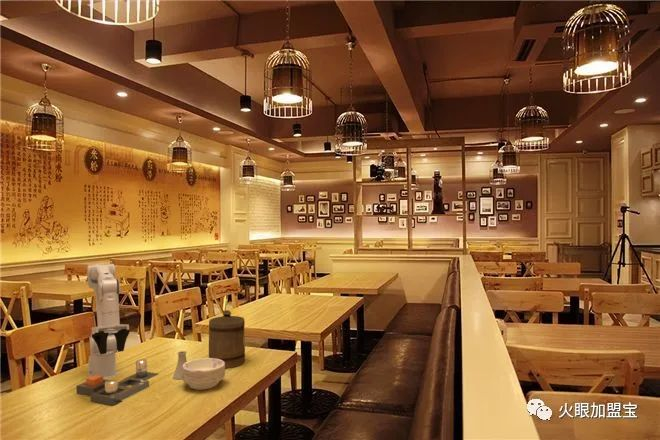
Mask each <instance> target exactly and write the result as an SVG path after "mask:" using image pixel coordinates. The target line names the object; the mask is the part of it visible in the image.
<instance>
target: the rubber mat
mask: <svg viewBox="0 0 660 440" xmlns="http://www.w3.org/2000/svg"><path fill="white" fill-rule="evenodd" d="M158 375H159V373H156V372H149V371H147V377H144V378H136V373H134V374H132V375H130V376H127V377H125V378H123V379H126V378H133V379H139V380H146V381H149V380H150V379H151V378H152V379H153V378H154V377H156V376H158Z"/></svg>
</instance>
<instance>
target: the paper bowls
mask: <svg viewBox="0 0 660 440" xmlns="http://www.w3.org/2000/svg"><path fill="white" fill-rule="evenodd" d="M225 374H226V368H225V362H224V361H222V360H220V359H216V358H209V357H203V358H202V357H201V358H196V359H195V358H194V359H191V360H188V361H187V362H186V363H184V364H183V366H182V380H181V381H183V382H184V383H186V384H187V386H188V387H190V389H193V390H199V391H201V390H202V391H203V390H209V389H213V388H214V387H216V386H217V385H218V384H219V383H220V381H222V380H224V378H225V376H226V375H225Z"/></svg>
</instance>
